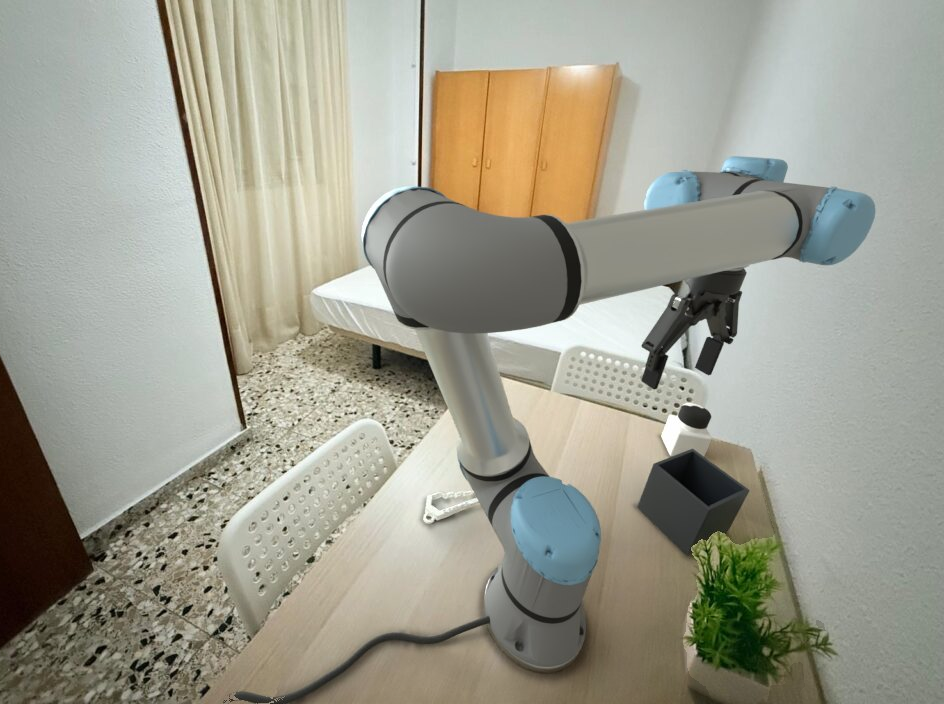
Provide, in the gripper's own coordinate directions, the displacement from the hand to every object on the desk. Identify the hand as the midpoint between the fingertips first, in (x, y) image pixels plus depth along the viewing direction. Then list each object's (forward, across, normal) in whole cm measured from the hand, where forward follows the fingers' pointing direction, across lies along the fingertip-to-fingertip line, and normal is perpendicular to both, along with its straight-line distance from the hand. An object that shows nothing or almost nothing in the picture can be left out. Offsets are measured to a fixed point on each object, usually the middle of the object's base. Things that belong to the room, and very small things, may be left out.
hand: (676, 378), depth 72 cm
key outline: (+29, -37, +11) cm, 49 cm away
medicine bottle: (+29, +22, +6) cm, 37 cm away
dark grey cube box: (+23, +4, -14) cm, 27 cm away
